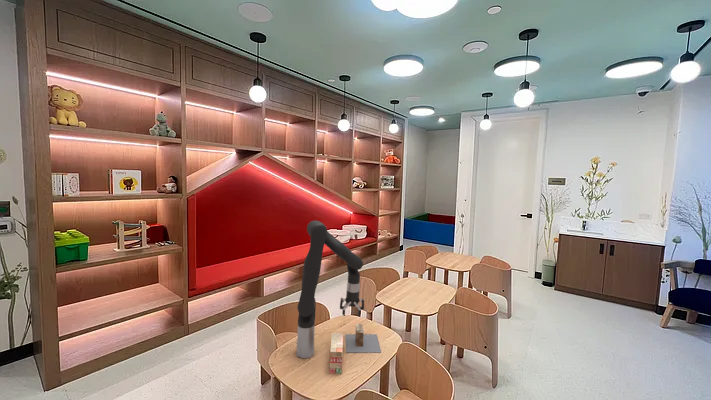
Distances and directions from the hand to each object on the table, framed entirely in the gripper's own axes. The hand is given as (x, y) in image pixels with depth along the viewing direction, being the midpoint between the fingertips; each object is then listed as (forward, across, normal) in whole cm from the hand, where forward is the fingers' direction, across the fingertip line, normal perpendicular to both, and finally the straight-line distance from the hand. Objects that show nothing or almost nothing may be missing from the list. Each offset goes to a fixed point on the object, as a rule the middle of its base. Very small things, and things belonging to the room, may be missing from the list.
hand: (351, 315), depth 171 cm
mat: (+17, +8, 0) cm, 19 cm away
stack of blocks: (+18, -8, -15) cm, 25 cm away
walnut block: (+17, +6, 0) cm, 18 cm away
